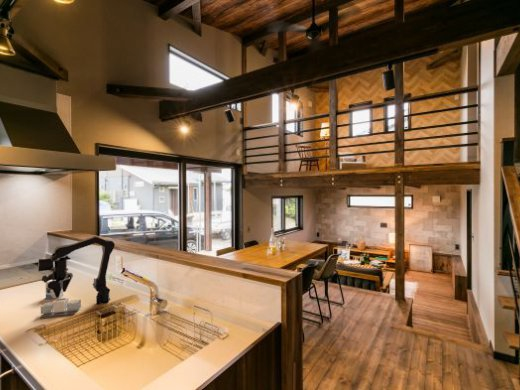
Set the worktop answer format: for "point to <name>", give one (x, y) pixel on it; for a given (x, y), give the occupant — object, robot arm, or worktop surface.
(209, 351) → the worktop surface
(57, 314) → the din rail
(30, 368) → the worktop surface
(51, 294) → the ink box
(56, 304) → the logic module
